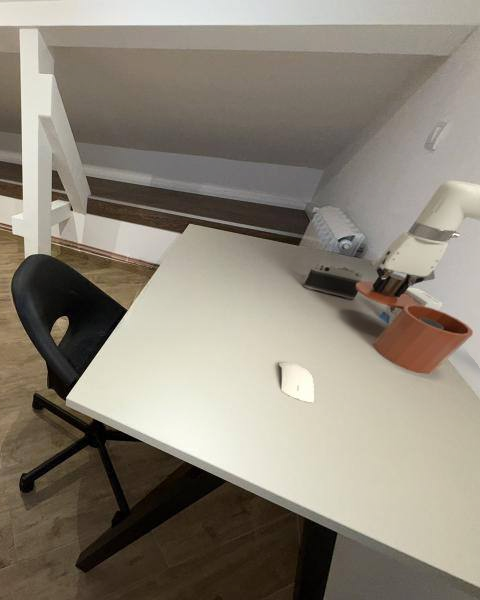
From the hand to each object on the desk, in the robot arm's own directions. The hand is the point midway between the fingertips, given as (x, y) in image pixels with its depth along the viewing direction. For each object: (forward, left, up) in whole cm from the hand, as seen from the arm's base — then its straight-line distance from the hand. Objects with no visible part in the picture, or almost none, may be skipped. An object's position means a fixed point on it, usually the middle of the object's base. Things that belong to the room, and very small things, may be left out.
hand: (385, 292), depth 90 cm
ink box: (-10, -4, -11) cm, 16 cm away
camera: (+7, -18, -11) cm, 23 cm away
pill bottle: (-5, +14, -11) cm, 19 cm away
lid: (0, 0, -1) cm, 1 cm away
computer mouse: (+22, +40, -11) cm, 47 cm away
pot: (-6, +14, -11) cm, 19 cm away
